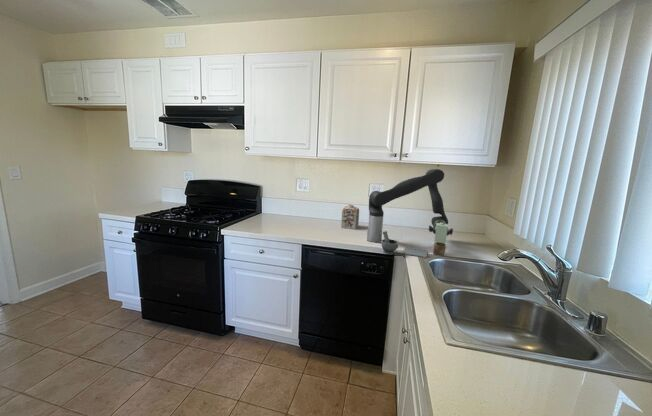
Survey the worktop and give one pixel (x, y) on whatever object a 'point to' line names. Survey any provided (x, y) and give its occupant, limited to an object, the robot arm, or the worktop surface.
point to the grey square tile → (415, 252)
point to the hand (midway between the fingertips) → (441, 233)
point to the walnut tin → (439, 249)
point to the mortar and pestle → (388, 244)
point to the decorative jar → (350, 217)
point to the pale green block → (441, 232)
